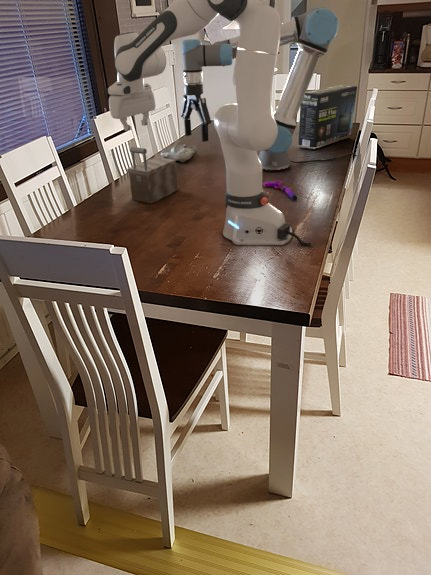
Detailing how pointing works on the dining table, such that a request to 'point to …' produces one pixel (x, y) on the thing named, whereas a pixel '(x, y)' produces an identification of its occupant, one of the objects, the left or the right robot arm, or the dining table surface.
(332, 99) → the router box
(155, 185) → the chest
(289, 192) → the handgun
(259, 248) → the dining table surface
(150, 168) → the lid
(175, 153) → the fossil
